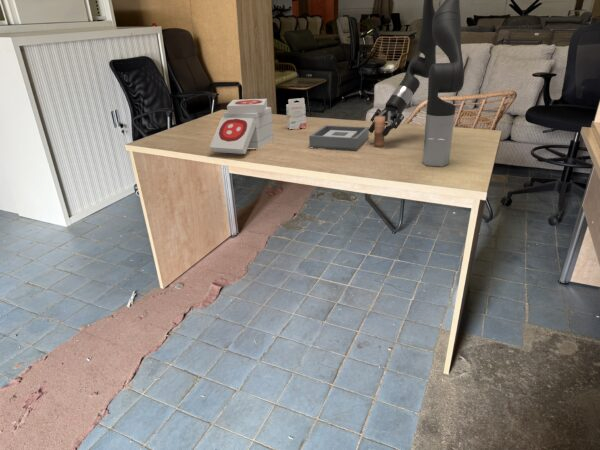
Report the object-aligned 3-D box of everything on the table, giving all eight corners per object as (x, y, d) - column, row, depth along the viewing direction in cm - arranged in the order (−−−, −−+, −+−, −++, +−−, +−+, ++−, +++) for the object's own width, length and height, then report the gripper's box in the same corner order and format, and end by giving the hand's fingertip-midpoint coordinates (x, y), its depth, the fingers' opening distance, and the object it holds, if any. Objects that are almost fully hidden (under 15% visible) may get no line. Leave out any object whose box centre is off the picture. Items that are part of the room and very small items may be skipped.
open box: (356, 151, 167) (356, 138, 165) (309, 147, 174) (309, 135, 172) (368, 138, 184) (368, 127, 182) (325, 136, 191) (325, 125, 189)
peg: (382, 147, 170) (384, 117, 165) (373, 147, 171) (373, 117, 166) (384, 145, 173) (386, 115, 168) (375, 144, 175) (376, 115, 169)
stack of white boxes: (206, 156, 170) (200, 110, 162) (242, 138, 195) (238, 97, 187) (248, 159, 163) (244, 112, 155) (280, 140, 188) (277, 98, 180)
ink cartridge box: (303, 126, 211) (302, 96, 204) (306, 128, 206) (305, 97, 200) (287, 128, 209) (285, 97, 203) (289, 130, 205) (287, 99, 198)
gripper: (382, 92, 173) (360, 125, 172) (408, 96, 162) (384, 131, 161) (391, 103, 178) (369, 135, 177) (416, 108, 167) (393, 142, 166)
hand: (376, 133), depth 169 cm, fingers open, 7 cm apart
